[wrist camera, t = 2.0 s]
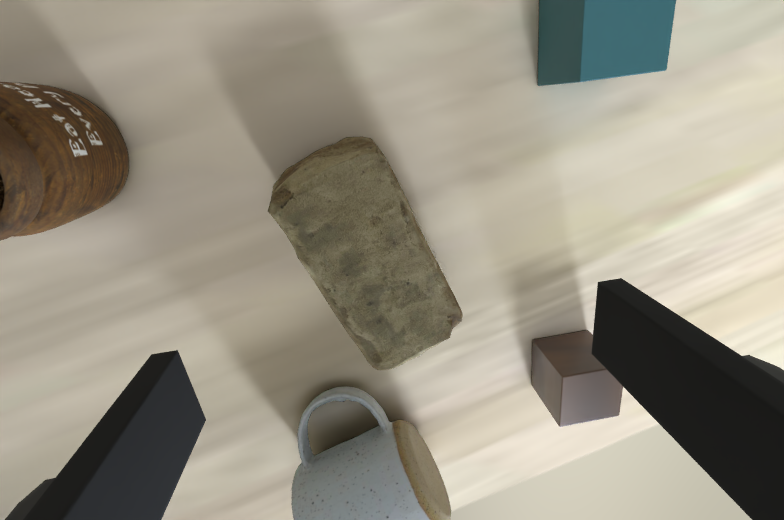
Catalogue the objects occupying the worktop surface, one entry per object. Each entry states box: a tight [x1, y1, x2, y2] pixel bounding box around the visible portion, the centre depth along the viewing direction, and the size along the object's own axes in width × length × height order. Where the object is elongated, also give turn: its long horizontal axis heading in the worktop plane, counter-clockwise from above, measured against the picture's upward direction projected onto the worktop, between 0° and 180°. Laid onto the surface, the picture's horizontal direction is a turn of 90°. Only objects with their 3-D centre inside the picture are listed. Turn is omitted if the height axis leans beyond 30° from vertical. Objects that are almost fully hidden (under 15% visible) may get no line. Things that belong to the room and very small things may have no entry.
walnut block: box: [532, 330, 623, 427], centre depth 26 cm, size 4×4×4 cm
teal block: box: [538, 0, 676, 86], centre depth 18 cm, size 4×4×4 cm
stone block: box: [268, 137, 463, 370], centre depth 20 cm, size 6×12×5 cm, turn 28°
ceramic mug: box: [292, 387, 451, 520], centre depth 25 cm, size 11×8×8 cm
